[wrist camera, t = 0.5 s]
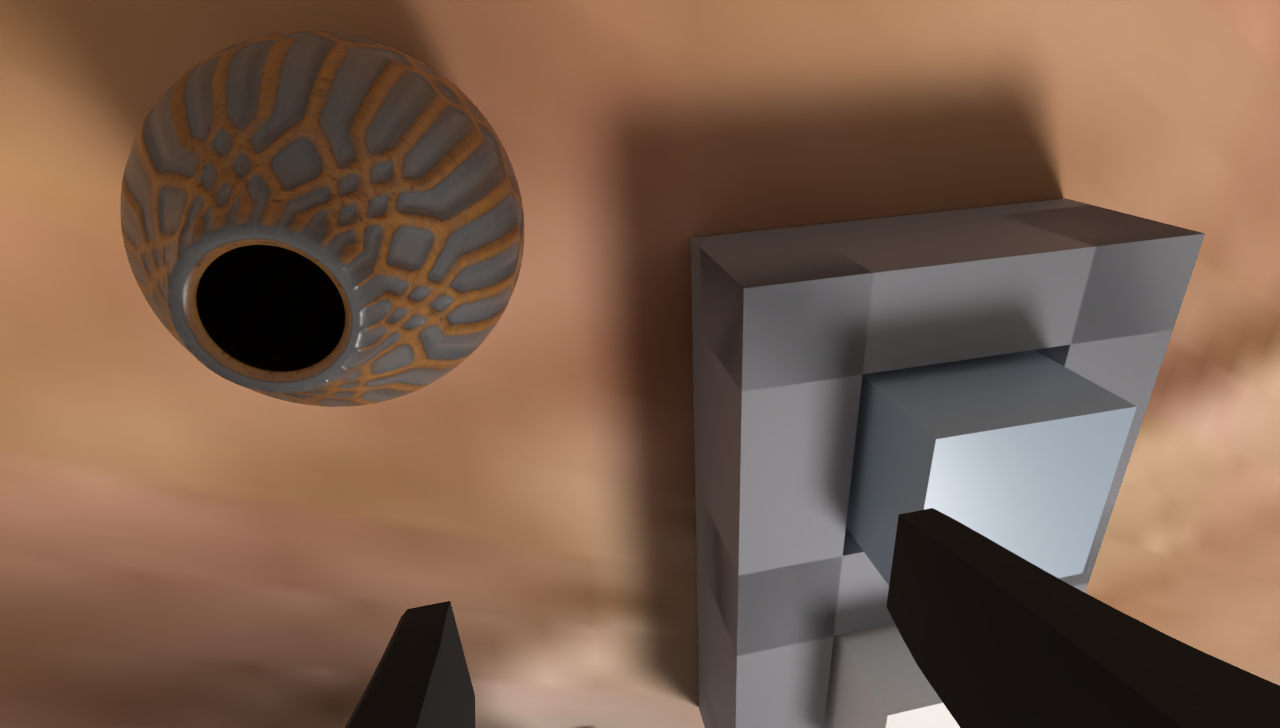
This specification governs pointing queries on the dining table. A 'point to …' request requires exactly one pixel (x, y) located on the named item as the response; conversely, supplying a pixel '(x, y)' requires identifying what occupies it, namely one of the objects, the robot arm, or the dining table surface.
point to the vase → (322, 219)
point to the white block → (880, 684)
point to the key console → (830, 395)
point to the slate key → (988, 455)
